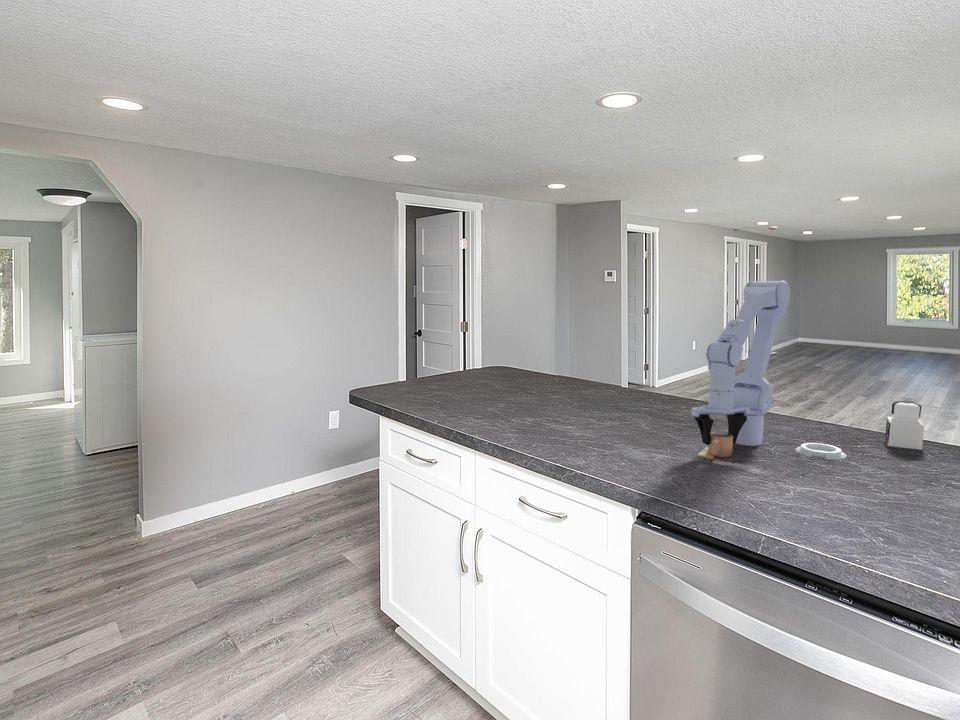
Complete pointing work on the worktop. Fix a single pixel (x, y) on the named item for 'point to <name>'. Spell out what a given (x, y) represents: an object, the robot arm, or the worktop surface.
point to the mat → (706, 454)
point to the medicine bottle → (905, 426)
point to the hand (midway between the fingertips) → (719, 443)
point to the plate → (820, 451)
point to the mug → (720, 444)
